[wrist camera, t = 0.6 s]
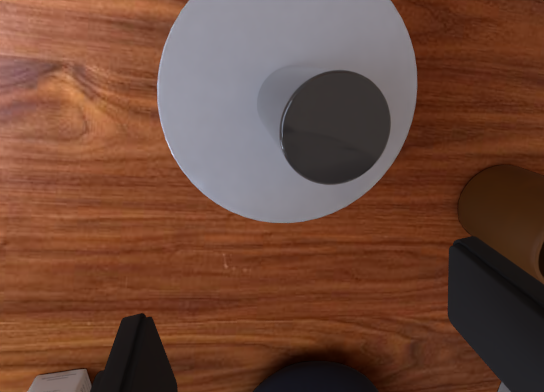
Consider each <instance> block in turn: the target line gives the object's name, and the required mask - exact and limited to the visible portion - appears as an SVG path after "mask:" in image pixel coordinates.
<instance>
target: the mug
mask: <svg viewBox="0 0 544 392" xmlns="http://www.w3.org/2000/svg"><path fill="white" fill-rule="evenodd" d="M458 216H459V220H460V223H461V225H462V226H463V228H464V229H465V230H466V231H467V232H468V233H469V234H470V235H471V236H475V237H477V238H479V239H480V240H482V241H483V242H484V243H486V244H487V245H489V246H490V247H492V248H493V249H494V250H496V251H497V252H499V253H500V254H501V255H503V256H504V257H506V258H507V259H509V260H510V261H511V262H513V263H514V264H516V265H517V266H519V267H520V268H521V269H523V270H524V271H526V272H527V273H528V274H530V275H531V276H533V277H534V278H536V279H537V280H538V281H540V282H541V283H543V284H544V176H543V175H540V174H537V173H535V172H532V171H529V170H526V169H523V168H520V167H517V166H512V165H497V166H493V167H490V168H488V169H485V170H484V171H482V172H480V173H479V174H477V175H476V176H475V177H474V178H472V179H471V180H470V182H469V183H468V184H467V185H466V187H465V188H464V190H463V192H462V194H461V196H460V199H459V203H458Z"/></svg>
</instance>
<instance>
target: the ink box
mask: <svg viewBox="0 0 544 392" xmlns="http://www.w3.org/2000/svg"><path fill="white" fill-rule="evenodd" d="M91 387H92V386H91V383H90V380H89V376H88V373H87V370H86V369H79V370H71V371H65V372H58V373H52V374H45V375H38V376H37V377H36V378H35V380H34V381H33V383H32V385H31V387H30V388H29V390H28V392H90V390H91Z"/></svg>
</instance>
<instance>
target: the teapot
mask: <svg viewBox="0 0 544 392" xmlns="http://www.w3.org/2000/svg"><path fill="white" fill-rule="evenodd" d="M253 392H378V390H377V388H376V387H375V386H374V384H373V383H372V382H371V381H370V380H369V379H368V378H367V377H366V376H364V375H363V374H362V373H360V372H359V371H357V370H355V369H353V368H351V367H349V366H346V365H343V364H340V363H335V362H328V361H305V362H300V363H296V364H292V365H289V366H287V367H285V368H283V369H281V370H279V371H277V372H276V373H274V374H273V375H271V376H269V377H268V378H267V379H265V380H264V381H263V382H262V383H261V384H260V385H259V386H258V387H257V388H256V389H255V390H254V391H253Z"/></svg>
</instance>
